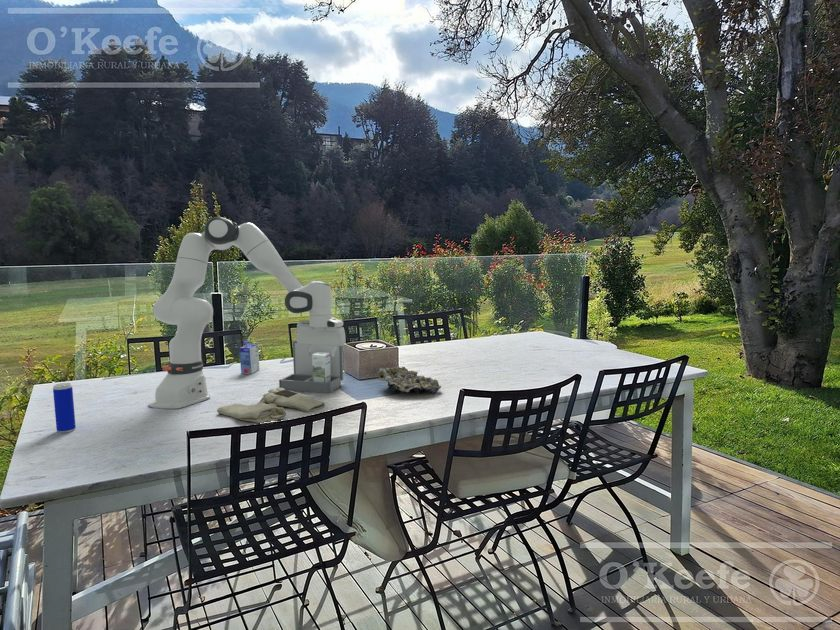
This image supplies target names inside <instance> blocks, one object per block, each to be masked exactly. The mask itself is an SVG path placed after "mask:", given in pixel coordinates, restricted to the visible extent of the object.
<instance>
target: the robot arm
mask: <svg viewBox="0 0 840 630" xmlns="http://www.w3.org/2000/svg"><path fill="white" fill-rule="evenodd" d="M234 246H235V247H237V248H238V249H240V250H241V252H242V253H243V254H244V256H245V257H246V258H247V259H248V261H249V262H250V263H251V264H252V265H253V266H254V267H255V268H256V269H257V270H260V271H262V272H265V273H267V274H269V275H271V276H273V277H274V278H275V279H276V280H278V282H279V283H280V284H281V286H283V288H284V289H285V290H286V292H287V293H286V296H285V297H284V305H285V308H286V309H287V310H288V311H289V312H291V313H292V314H297V315H298V314H302V313H306V312H307V313H308V315H309V317H308V318H309V319H308V320H307V321H306V320H300V321H299V322H297V324H296V332H297V333H296V337H295V338H296V339H295V340H296V341H297V343H298V344H305V348H306V350H307V351H308V355H313V351H311V349H310V347H309V346H310V344H311V345H329V346H332V348H333V350H332V351H331V352H329V357H334V352H335V350H336V349H337V346H343V347H344V345H345V344H346V341H347V340H346V339H347V338H346V331H345V328H344V327H343V326H344V321H343V320H341V319H338V318H336V317H335V316H334V317H333V315H332V310H331V308H332V302H333V301H332V290H331V286H330V284H328V283H327V282H324V281H320V280H311V281H309V283H307V284H305V285H304V284H303V283H301V281H300V280H299V279H298V278H297V277H296V275H295V274H294V273H293V272H292V270H291V269H289V266H287V265H286V263H285V262H284V260H283V259H282V257H281V256H280V254H279V252H278V250H277V249H276V247H275V246H274V244H273V243H272V241H270V239H269V238H268V237H267V235H266V234H265V233H264V232H263V231H262V230H261V229H260V228H259V227H258V226H256V224H254V223H252V222H244V223H241V224H239V225H238V224H237V223H236V222H234V221H232V220H230V219H227V218H225V217H222V216H214V217H211V218H209V219H208V220H207V221H206V222H205V224H204V228H203V231H202V232H189V233H186V234H185V235H184V236H183V238H182V241H181V243H180V246H179V249H178V252H177V256H176V260H175V266H174V270H173V275H172V279H171V281H170V284H169V285H168V287H167V289H166V291H165V292H164V293H163V295H162V296H161V297H159V298H158V299H157V300H156V301H155V302H154V305H153V307H152V308H153V309H152V310H153V311H152V312H153V315H154V318H155V319H156V320H157V321H160V322H162V323H165V324H167V325H172V326H173V325H175V326H176V327H177V328H176V334H175V335H174V337H173V338H171V340H170V341H169V343H168V347H169V348H168V349H169V363H168V365H163V366H162V371H163V372H167V374H166V375H165V377H164V378H163V379H162V381H161V382H160V383H159V384H158V386H157V387H156V389H155V395H154V397H155V398H154V399H153V400H151V401H150V402H148V407H151V408H156V409H166V410H167V409H170V410H171V409H182V408H184V407H187V406H191V405H193V404H194V405H195V404H197V403H199V402H203V401H207V400H209V399H211V396H210V394H209V392H208V387H207V386H208V385H207V380H206V377H205V375H204V371H203V369H204V362H203V359H202V346H201V345H202V335H203V333H204V330H205V328H206V326H207V325H208V324H209V323H210V322H211V321H212V319H213V316H214V307H213V305H212V304H211V302H209V301H208V300H206V299H203V298H199V297H194V295H195V293H196V292H197V290H198V289H200V288H201V287H202V286H204V283H205V279H206V275H207V270H208V269H207V268H208V262H209V257H210V254H211V253H218V252H227V251H229V250H230V249H232V248H234Z"/></svg>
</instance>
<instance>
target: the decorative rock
mask: <svg viewBox="0 0 840 630" xmlns="http://www.w3.org/2000/svg"><path fill="white" fill-rule="evenodd" d="M418 374H419V372H418V371H415V370H409V369H407V368H406V367H405V366H402V367H400V366H398V365H395V366H392V367H387V366H386V367H379V368H378V371H377V377H378V379H379V381H380V382H381V381H383V382H384V381H385V382H387V387H388V388H389V389H390V390H391V391H392V392H396V391H397V390H399V391H401V392H404V393H409V392H410V390H411V391H412V390H413V389H414V392H415V393H417V394H418V393H420V392H422V391H424V390H427V391H429V392H430V393H431V394H434V393H438V392H439V391H440V390H441V388H442V386H441V385H440V384H439V381H438V380H437V378H436V379H435V378H434V379H433V378H432V377H430V376H429V377H425V376H424V375H418Z"/></svg>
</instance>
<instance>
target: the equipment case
mask: <svg viewBox="0 0 840 630" xmlns="http://www.w3.org/2000/svg"><path fill="white" fill-rule="evenodd" d="M309 347H310V349H311V351H313V354H314V353H317V352H320V353H329V352H331V351H332V350H333V348H332V346H329V345H311V344H310V346H309ZM292 354H293V355H292V356H293V357H292V359H293V361H292V362H293V373H290V374H289V375H287V376H284V377H282V378H280V379H279V380H278V382H279V383H278V385H279V386H278V388H279V387H280V388H284V389H285V390H289V391H293V392H306V393H307V392H309V393H310V392H311V393H321V394H324V393H325V394H331V393H333V392H334V391H335V390H338V389H339V388H341V385H342V383H341V382H342V381H344V355H343V354H344V345H343V346H337V349H336V350H335V352H334V357H330V374H331V382H329V383H326V382H313V368H312V355H308V351H307V350H306V348H305V344H298V343H297V341H296V339H293V340H292Z"/></svg>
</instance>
